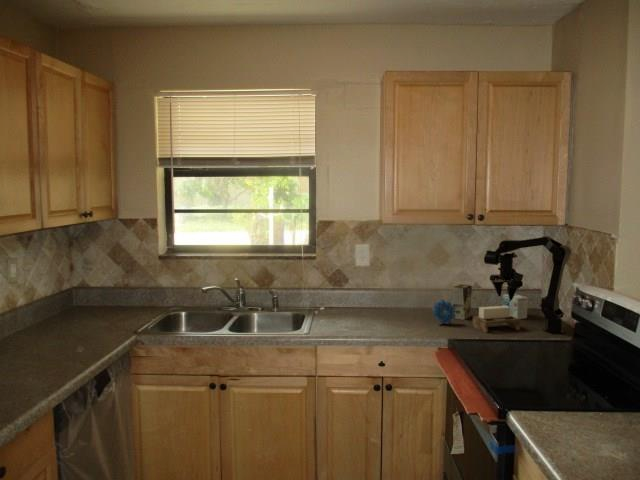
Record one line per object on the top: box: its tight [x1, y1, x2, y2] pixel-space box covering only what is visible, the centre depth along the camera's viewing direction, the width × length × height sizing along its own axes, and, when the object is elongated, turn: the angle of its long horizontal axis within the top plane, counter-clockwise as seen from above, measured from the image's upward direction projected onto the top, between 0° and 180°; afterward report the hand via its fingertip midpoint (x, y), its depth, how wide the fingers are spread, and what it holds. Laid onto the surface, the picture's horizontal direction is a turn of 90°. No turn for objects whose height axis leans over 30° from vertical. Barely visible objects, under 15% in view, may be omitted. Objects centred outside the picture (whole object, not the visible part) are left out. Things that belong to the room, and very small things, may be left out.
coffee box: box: [452, 284, 473, 321], centre depth 264 cm, size 9×6×16 cm
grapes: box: [431, 299, 456, 325], centre depth 251 cm, size 12×7×12 cm, turn 97°
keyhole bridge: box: [472, 315, 521, 333], centre depth 245 cm, size 11×18×5 cm, turn 105°
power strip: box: [478, 305, 510, 321], centre depth 246 cm, size 4×14×7 cm, turn 105°
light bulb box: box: [502, 293, 529, 320], centre depth 267 cm, size 11×7×11 cm, turn 25°
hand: (505, 298), depth 254 cm, fingers open, 9 cm apart
